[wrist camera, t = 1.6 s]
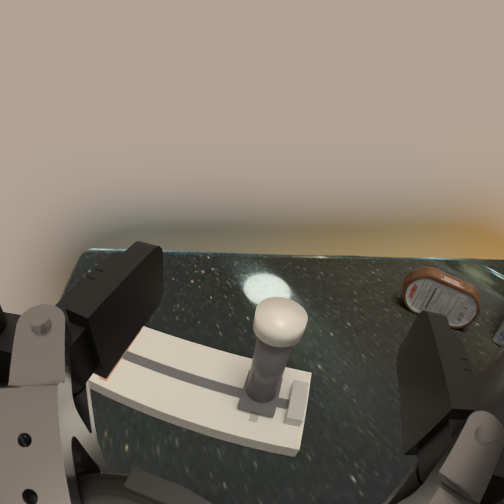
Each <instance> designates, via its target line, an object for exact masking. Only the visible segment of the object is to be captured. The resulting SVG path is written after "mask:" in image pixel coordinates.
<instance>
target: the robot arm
mask: <svg viewBox="0 0 504 504" xmlns="http://www.w3.org/2000/svg"><path fill="white" fill-rule="evenodd" d="M163 289H164V285H163V252H162V248H161V247H160V246H156V245H152V244H148V243H145V242H141V241H137V242H135V243H134V244H133V245H132V246H131V247H129V248H128V249H127V250H126V251H125V252H124V253H121V252H119V253H117V254H115V255H113V256H111V257H108V258H106V259H105V260H104V261H103V262H101V263H100V264H99V265H98V266H97V267H96V268H95V270H93V271H91V272H90V273H89V274H88V275H87V278H84V279H83V280H82V281H81V282H79V283H78V284H77V285H76V286H75V287H74V288H73V289H72V290H71V291H70V292H69V293H68V294H67V295H66V296H65V297H64V298H63V299H62V300H61V301H60V302H58V303H57V304H56V305H55V306H54V305H49V304H42V305H37V306H34V307H32V308H30V309H28V310H27V311H25V312H24V313H23V314H22V315H17V314H11V313H5V312H3V311H2V308H1V306H0V504H212V503H211V502H209V501H207V500H205V499H204V498H202V497H200V496H198V495H197V494H195V493H193V492H192V491H190V490H188V489H187V488H185V487H183V486H182V485H179V484H177V483H174V482H171V481H168V480H166V479H163V478H161V477H158V476H156V475H153V474H151V473H148V472H146V471H143V470H141V469H139V468H136V467H134V466H133V468H132V470H131V472H130V474H129V475H128V474H121V473H108V472H107V468H106V464H105V460H104V457H103V454H102V452H101V449H100V447H99V444H98V440H97V436H96V430H95V424H94V418H93V411H92V404H91V396H90V387H89V382H88V380H89V378H90V377H91V376H92V374H93V373H94V374H96V375H98V376H100V377H103V378H105V379H107V377H108V376H109V374H110V373H111V371H112V370H113V369H114V367H115V366H116V364H117V363H118V361H119V360H120V359H121V357H122V356H123V354H124V353H125V351H126V350H127V349H128V347H129V346H130V344H131V343H132V342H133V340H134V339H135V337H136V336H137V335H138V333H139V332H140V330H141V329H142V328H143V326H144V325H145V323H146V322H147V321H148V319H149V318H150V317H151V315H152V314H153V312H154V311H155V310H156V308H157V307H158V305H159V304H160V301H161V299H162V295H163ZM396 366H397V374H398V383H399V393H400V403H401V416H402V430H403V451H404V455H418V462H417V463H416V464H414V465H413V467H412V468H411V469H410V470H409V472H408V473H407V474H406V476H405V477H404V478H403V480H402V481H401V482H400V484H399V485H398V486H397V487H396V489H395V490H394V491H393V492H392V494H391V495H390V496H389V497H388V498H387V500H386V501H385V502H384V503H383V504H504V503H503V499H504V344H503V345H502V347H501V348H500V349H499V351H498V352H497V353H496V355H495V356H494V357H493V359H492V360H491V361H490V363H489V364H488V365H487V366H486V368H485V369H484V370H483V371H482V373H481V374H480V375H479V376H478V378H477V379H476V380H475V379H474V376H473V373H471V370H472V369H471V366H470V363H469V362H468V357H467V354H466V351H465V348H464V346H463V344H462V343H461V341H460V340H459V339H458V337H457V336H456V335H455V333H452V331H451V328H450V325H449V323H448V320H447V317H446V316H445V315H443V314H439V313H434V312H430V311H425V310H423V311H421V312H420V313H419V315H418V316H417V318H416V320H415V322H414V324H413V325H412V327H411V329H410V331H409V332H408V334H407V336H406V338H405V339H404V341H403V343H402V344H401V346H400V348H399V351H398V355H397V361H396Z"/></svg>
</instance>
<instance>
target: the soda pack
mask: <svg viewBox="0 0 504 504" xmlns="http://www.w3.org/2000/svg"><path fill="white" fill-rule="evenodd" d="M492 341H493V342H494V343H495V344H497V345H498V346H499V347H500V348H501V347H502V345H503V344H504V320H503V321H502V323H501V325H500V327H499V328H498V330H497V332H496V333H495V335H494V337H493V338H492Z"/></svg>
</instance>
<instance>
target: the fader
mask: <svg viewBox="0 0 504 504" xmlns="http://www.w3.org/2000/svg"><path fill="white" fill-rule="evenodd" d="M307 320H308V317H307V313H306V311H305V310H304V308H303V307H302V306H301V305H299V304H298V303H296V302H295V301H293V300H290V299H287V298H282V297H272V298H267V299H265V300H263V301H261V302H260V303H259V304H258V306H257V308H256V312H255V317H254V323H253V330H254V333H255V335H256V336H257V340H256V345H255V350H254V355H253V360H252V364H251V369H250V370H249V372H248V375H247V378H246V381H245V384H244V387H243V390H242V393H241V396H240V399H239V402H238V407H237V408H238V409H242V410H245V411H249V412H253V413H257V414H261V415H266V416H270V417H273V416H274V414H275V410H276V406H277V402H278V397H279V393H280V388H281V384H282V379H283V378H282V376H283V373H284V370H285V367H286V364H287V361H288V358H289V355H290V352H291V349H292V346H293V345H295V344H296V343H298V342H299V341H300V340H301V338H302V336H303V333H304V330H305V327H306V324H307Z"/></svg>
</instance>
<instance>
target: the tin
mask: <svg viewBox="0 0 504 504" xmlns="http://www.w3.org/2000/svg"><path fill="white" fill-rule="evenodd" d="M402 296H403V301H404V303H405V305H406V306H407V308H408V309H409V310H410V311H412V312H414V313H416V314H418V315H419V313H420V312H421V311H423V310H425V311H430V312H434V313H439V314H443V315H445V316H446V317H447V320H448V323H449V325H450V328H453V329H460V328H464V327H467V326H469V325H470V324H472V323H473V322H474V321H475V319H476V318H477V317H478V315H479V312H480V295H479V292H478V290H477V289H476V288H475V287H474V286H473V285H471V284H469V283H467V282H465V281H462V280H460V279H458V278H456V277H453V276H451V275H449V274H447V273H444V272H442V271H440V270H438V269H435V268H432V267H420V268H417V269H415V270H413V271H411V272H410V273H409V274H408V275H407V277H406V278H405V280H404V284H403V292H402Z"/></svg>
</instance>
